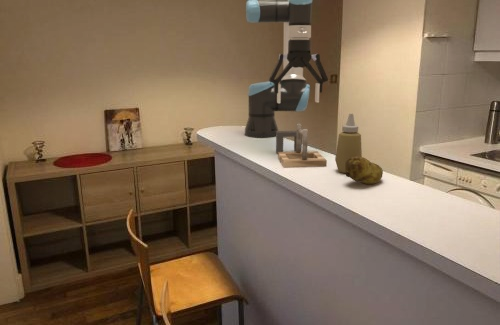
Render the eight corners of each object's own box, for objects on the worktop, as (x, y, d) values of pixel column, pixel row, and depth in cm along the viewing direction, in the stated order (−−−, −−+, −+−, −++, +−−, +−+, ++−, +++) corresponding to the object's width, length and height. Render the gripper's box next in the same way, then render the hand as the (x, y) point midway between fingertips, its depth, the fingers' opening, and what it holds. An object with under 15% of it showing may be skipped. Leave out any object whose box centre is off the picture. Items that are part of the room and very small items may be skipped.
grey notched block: (277, 154, 151) (277, 132, 149) (275, 152, 154) (276, 131, 152) (301, 153, 151) (302, 132, 149) (299, 151, 154) (300, 130, 152)
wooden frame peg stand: (277, 157, 146) (278, 123, 143) (316, 156, 147) (318, 123, 144) (283, 167, 133) (284, 130, 130) (326, 166, 135) (328, 129, 131)
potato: (392, 185, 115) (395, 157, 113) (351, 189, 112) (352, 161, 110) (376, 177, 123) (378, 151, 121) (337, 180, 120) (338, 154, 117)
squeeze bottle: (361, 175, 124) (365, 116, 119) (334, 174, 126) (337, 115, 121) (360, 168, 132) (364, 112, 127) (334, 167, 133) (337, 111, 129)
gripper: (264, 39, 134) (264, 104, 140) (339, 38, 136) (335, 103, 142) (261, 39, 141) (261, 101, 147) (332, 39, 144) (329, 100, 149)
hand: (297, 102), depth 144 cm, fingers open, 13 cm apart
